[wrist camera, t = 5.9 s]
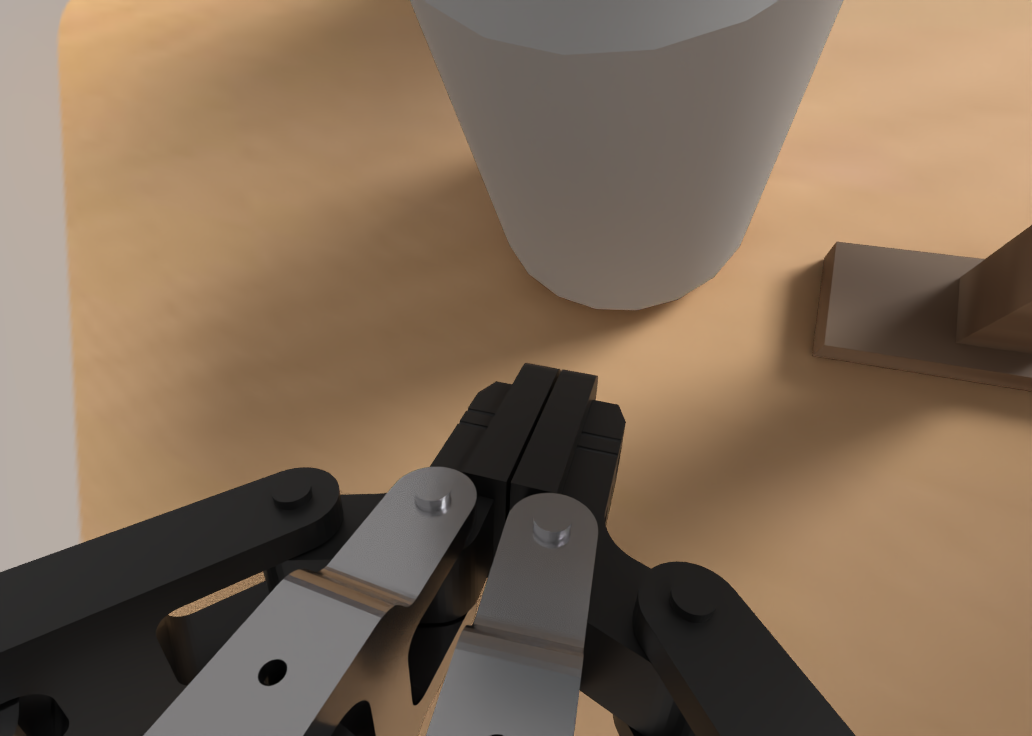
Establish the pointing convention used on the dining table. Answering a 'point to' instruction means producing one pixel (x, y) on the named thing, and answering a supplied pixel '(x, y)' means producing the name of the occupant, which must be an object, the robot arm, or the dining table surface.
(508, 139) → the can
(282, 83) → the dining table surface
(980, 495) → the dining table surface
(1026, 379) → the door frame
